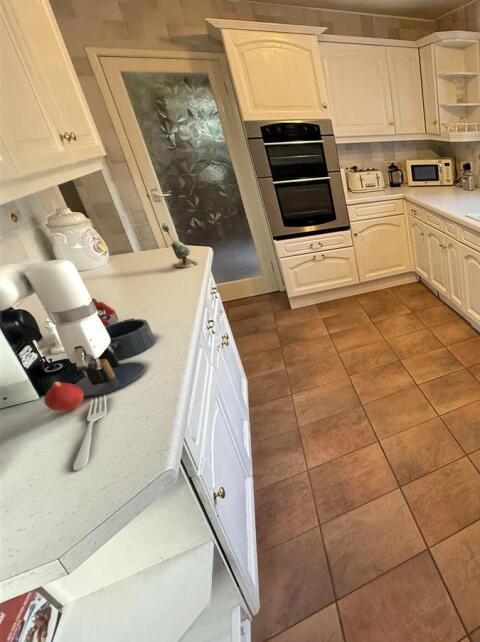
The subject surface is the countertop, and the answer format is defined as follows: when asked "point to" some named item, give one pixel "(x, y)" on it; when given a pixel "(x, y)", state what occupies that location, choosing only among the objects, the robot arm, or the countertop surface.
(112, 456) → the countertop surface
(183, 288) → the countertop surface
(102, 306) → the toy fire truck
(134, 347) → the pan
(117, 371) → the lid
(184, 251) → the plant with pod
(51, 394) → the onion
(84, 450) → the fork
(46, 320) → the chess piece
